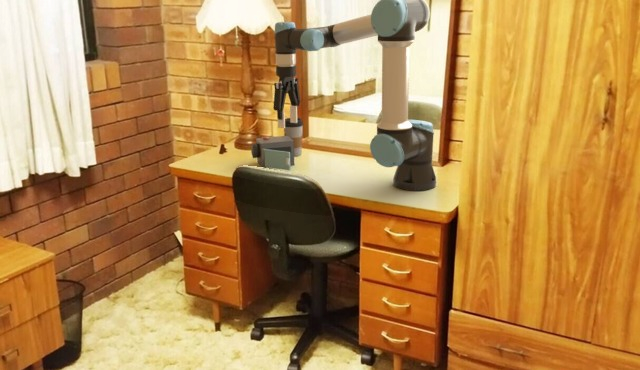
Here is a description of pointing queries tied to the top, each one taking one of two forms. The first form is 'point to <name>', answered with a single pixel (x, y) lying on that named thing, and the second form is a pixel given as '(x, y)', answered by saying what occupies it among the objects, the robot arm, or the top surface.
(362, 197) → the top surface
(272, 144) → the camera body
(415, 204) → the top surface
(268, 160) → the side door
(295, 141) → the coffee cup
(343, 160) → the top surface
